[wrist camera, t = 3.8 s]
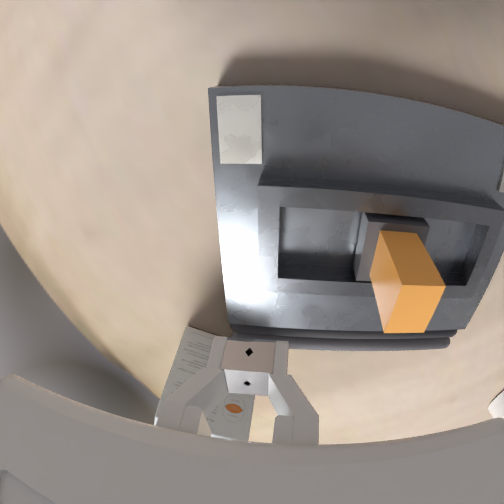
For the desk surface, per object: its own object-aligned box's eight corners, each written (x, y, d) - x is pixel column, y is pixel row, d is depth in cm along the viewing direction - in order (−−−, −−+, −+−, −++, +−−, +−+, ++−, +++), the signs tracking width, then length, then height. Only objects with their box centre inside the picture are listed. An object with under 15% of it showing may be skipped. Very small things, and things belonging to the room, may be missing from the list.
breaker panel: (519, 131, 13) (548, 146, 10) (458, 314, 23) (470, 341, 21) (216, 86, 16) (199, 89, 13) (232, 306, 26) (224, 337, 23)
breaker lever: (421, 214, 16) (462, 278, 11) (406, 268, 19) (432, 338, 14) (363, 208, 17) (388, 275, 12) (352, 265, 19) (366, 339, 14)
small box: (179, 352, 32) (150, 433, 23) (186, 323, 29) (152, 416, 20) (246, 374, 32) (230, 457, 24) (263, 348, 29) (248, 444, 21)
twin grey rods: (456, 319, 24) (461, 330, 23) (444, 340, 26) (448, 350, 25) (231, 312, 27) (228, 324, 26) (233, 335, 28) (230, 346, 27)
